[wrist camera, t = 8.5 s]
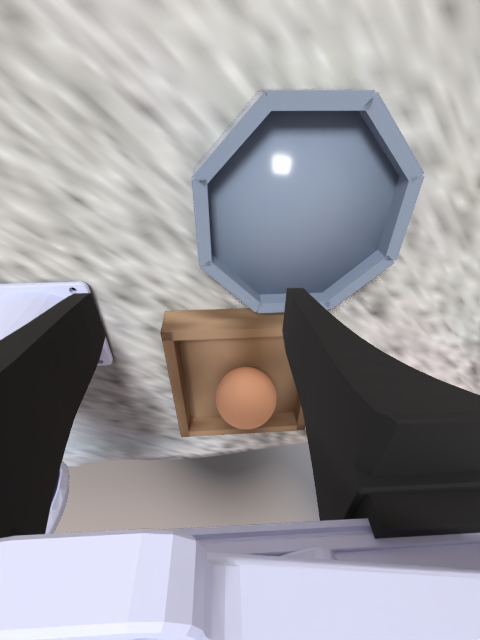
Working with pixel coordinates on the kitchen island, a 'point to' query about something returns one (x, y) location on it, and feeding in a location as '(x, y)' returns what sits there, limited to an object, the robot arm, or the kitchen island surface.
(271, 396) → the ball
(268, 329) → the tray
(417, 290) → the kitchen island surface
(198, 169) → the bowl
